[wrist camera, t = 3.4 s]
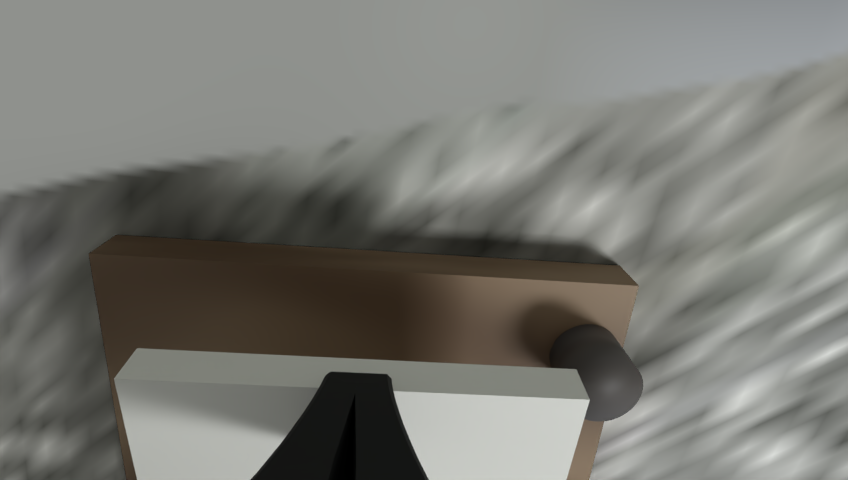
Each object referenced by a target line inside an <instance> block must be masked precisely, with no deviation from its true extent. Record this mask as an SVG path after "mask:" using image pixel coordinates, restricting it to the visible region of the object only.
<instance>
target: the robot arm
mask: <svg viewBox="0 0 848 480" xmlns="http://www.w3.org/2000/svg"><path fill="white" fill-rule="evenodd" d="M251 480H429V479H428V477H427V475H426V473H425V471H424V469H423V467H422V465H421V463H420V461H419V459H418V457H417V455H416V453H415V450H414V448H413V446H412V443H411V441H410V439H409V436H408V434H407V431H406V429H405V427H404V424H403V421H402V418H401V416H400V413H399V409H398V406H397V403H396V400H395V396H394V392H393V386H392V379H391V378H390V377H389V376H388V374H376V373H353V372H329V373H328V374H327V375H325V377H324V379H323V381H322V383H321V385H320V387H319V388H318V390H317V392H316V393H315V395H314V397H313V398H312V400H311V402H310V403H309V405H308V406H307V408H306V409H305V411H304V412H303V414H302V415H301V416H300V418H299V419H298V421H297V422H296V423H295V425H294V426H293V428H292V429H291V430H290V432H289V433H288V434H287V436H286V437H285V439H284V440H283V441H282V442H281V444H280V445H279V446H278V447H277V449H276V450H275V451H274V452H273V453H272V455H271V456H270V457H269V458H268V460H267V461H266V462H265V463H264V464H263V466H262V467H261V468H260V469H259V470H258V472H257V473H256V474H255V475H254V476H253V477H252V478H251Z"/></svg>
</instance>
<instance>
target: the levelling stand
mask: <svg viewBox="0 0 848 480" xmlns="http://www.w3.org/2000/svg"><path fill="white" fill-rule="evenodd" d="M89 259H90V265H91V271H92V277H93V283H94V289H95V295H96V301H97V307H98V313H99V319H100V325H101V331H102V337H103V343H104V349H105V355H106V360H107V366H108V372H109V378H110V384H111V390H112V396H113V402H114V408H115V414H116V420H117V426H118V432H119V438H120V444H121V450H122V456H123V462H124V468H125V474H126V480H137V477H136V473H135V468H134V464H133V460H132V455H131V451H130V447H129V442H128V438H127V434H126V429H125V425H124V420H123V416H122V412H121V407H120V403H119V399H118V394H117V390H116V386H115V381H114V378H115V377H116V375H117V374H118V373H119V371H120V370H121V369H122V367H123V366H124V365H125V363H126V362H127V361H128V359H129V358H130V357H131V355H132V354H133V353H134V351H135V350H136V349H137V348H144V349H165V350H186V351H206V352H227V353H248V354H269V355H290V356H311V357H332V358H353V359H373V360H394V361H415V362H436V363H457V364H478V365H499V366H520V367H541V368H561V369H576V370H577V372H578V374H579V376H580V379H581V381H582V383H583V385H584V388H585V390H586V392H587V394H588V397H589V399H590V401H589V405H588V408H587V411H586V415H585V418H584V422H583V425H582V428H581V432H580V435H579V439H578V442H577V445H576V449H575V452H574V456H573V459H572V463H571V466H570V469H569V473H568V476H567V480H589V478H590V474H591V470H592V466H593V462H594V458H595V455H596V451H597V447H598V443H599V439H600V435H601V431H602V427H603V423H604V421H608V420H612V419H615V418H618V417H620V416H622V415H624V414H625V413H627V412H628V411H629V410H631V409H632V408H633V407H634V405H635V404H636V403H637V402H638V400H639V398H640V396H641V394H642V390H643V380H642V376H641V374H640V372H639V371H638V369H637V368H636V366H635V365H634V364H633V362H632V361H631V359H630V358H629V356H628V355H627V354H626V352H625V351H624V349H623V346H624V342H625V338H626V334H627V330H628V326H629V322H630V318H631V315H632V311H633V307H634V303H635V299H636V295H637V291H638V287H639V286H638V284H637V283H636V282H635V281H634V280H633V279H632V278H631V277H630V276H629V275H628V274H627V273H626V272H625V271H624V270H623V269H622V268H621V267H620V266H619V265H602V264H586V263H570V262H553V261H537V260H520V259H504V258H488V257H471V256H455V255H438V254H422V253H406V252H389V251H373V250H356V249H340V248H324V247H307V246H291V245H274V244H258V243H241V242H225V241H209V240H192V239H176V238H159V237H143V236H127V235H115V236H114V237H112V238H111V239H110V240H108V241H107V242H105V243H104V244H102V245H101V246H99V247H98V248H96V249H95V250H93V251H92V252H90V253H89Z"/></svg>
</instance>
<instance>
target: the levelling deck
mask: <svg viewBox="0 0 848 480" xmlns="http://www.w3.org/2000/svg"><path fill="white" fill-rule="evenodd" d="M329 372H353V373H376V374H388V376H389V377H390V378H391V379H392V386H393V392H394V396H395V400H396V403H397V406H398V409H399V413H400V416H401V418H402V421H403V424H404V427H405V429H406V431H407V434H408V436H409V439H410V441H411V443H412V446H413V448H414V450H415V453H416V455H417V457H418V459H419V461H420V463H421V465H422V467H423V469H424V471H425V473H426V475H427V477H428V479H429V480H567V476H568V473H569V469H570V466H571V463H572V459H573V456H574V452H575V449H576V445H577V442H578V439H579V435H580V432H581V428H582V425H583V422H584V418H585V415H586V411H587V408H588V405H589V401H590V399H589V397H588V394H587V392H586V390H585V388H584V385H583V383H582V381H581V379H580V376H579V374H578V372H577V370H576V369H561V368H541V367H520V366H499V365H478V364H457V363H436V362H415V361H394V360H373V359H353V358H332V357H311V356H290V355H269V354H248V353H227V352H206V351H186V350H165V349H144V348H137V349H136V350H135V351H134V353H133V354H132V355H131V357H130V358H129V359H128V361H127V362H126V363H125V365H124V366H123V367H122V369H121V370H120V371H119V373H118V374H117V375H116V377H115V378H114V381H115V386H116V390H117V394H118V399H119V403H120V407H121V412H122V416H123V420H124V425H125V429H126V434H127V438H128V442H129V447H130V451H131V455H132V460H133V464H134V468H135V473H136V477H137V480H251V478H252V477H253V476H254V475H255V474H256V473H257V472H258V470H259V469H260V468H261V467H262V466H263V464H264V463H265V462H266V461H267V460H268V458H269V457H270V456H271V455H272V453H273V452H274V451H275V450H276V449H277V447H278V446H279V445H280V444H281V442H282V441H283V440H284V439H285V437H286V436H287V434H288V433H289V432H290V430H291V429H292V428H293V426H294V425H295V423H296V422H297V421H298V419H299V418H300V416H301V415H302V414H303V412H304V411H305V409H306V408H307V406H308V405H309V403H310V402H311V400H312V398H313V397H314V395H315V393H316V392H317V390H318V388H319V387H320V385H321V383H322V381H323V379H324V377H325V375H327V374H328V373H329Z"/></svg>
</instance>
